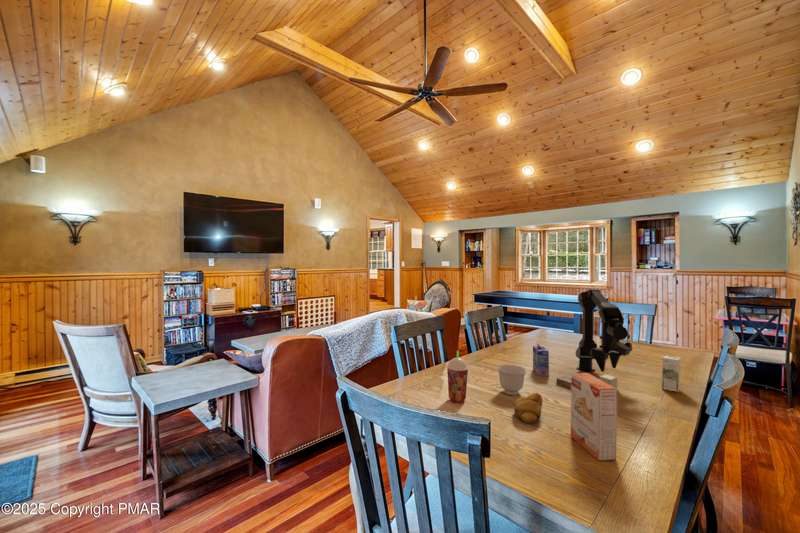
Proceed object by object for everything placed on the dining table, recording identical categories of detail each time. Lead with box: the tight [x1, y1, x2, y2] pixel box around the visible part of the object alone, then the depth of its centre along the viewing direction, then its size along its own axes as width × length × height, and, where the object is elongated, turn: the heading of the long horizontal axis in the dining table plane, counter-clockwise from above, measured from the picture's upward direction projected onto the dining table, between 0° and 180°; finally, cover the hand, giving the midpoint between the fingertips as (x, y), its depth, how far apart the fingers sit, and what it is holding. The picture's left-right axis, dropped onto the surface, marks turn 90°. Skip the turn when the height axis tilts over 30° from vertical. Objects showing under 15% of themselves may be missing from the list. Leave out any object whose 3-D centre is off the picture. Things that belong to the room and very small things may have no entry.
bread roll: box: [513, 392, 544, 424], centre depth 128 cm, size 13×10×8 cm
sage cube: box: [598, 374, 618, 390], centre depth 157 cm, size 5×5×5 cm
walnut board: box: [556, 374, 572, 390], centre depth 161 cm, size 10×10×3 cm
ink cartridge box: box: [532, 343, 550, 377], centre depth 178 cm, size 10×6×14 cm, turn 174°
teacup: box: [496, 364, 527, 396], centre depth 153 cm, size 12×15×10 cm
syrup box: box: [661, 354, 681, 393], centre depth 156 cm, size 6×6×14 cm
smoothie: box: [446, 350, 469, 404], centre depth 142 cm, size 8×8×20 cm
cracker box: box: [570, 372, 618, 462], centre depth 107 cm, size 14×6×21 cm, turn 5°
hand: (608, 369), depth 157 cm, fingers open, 9 cm apart
